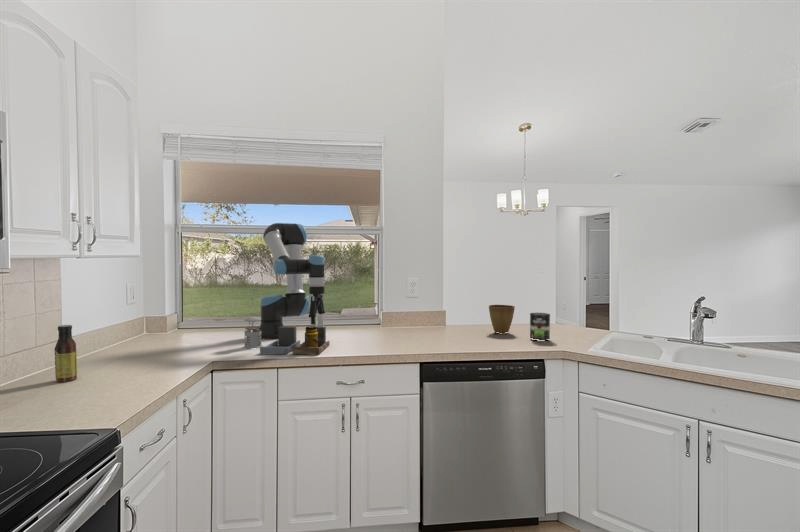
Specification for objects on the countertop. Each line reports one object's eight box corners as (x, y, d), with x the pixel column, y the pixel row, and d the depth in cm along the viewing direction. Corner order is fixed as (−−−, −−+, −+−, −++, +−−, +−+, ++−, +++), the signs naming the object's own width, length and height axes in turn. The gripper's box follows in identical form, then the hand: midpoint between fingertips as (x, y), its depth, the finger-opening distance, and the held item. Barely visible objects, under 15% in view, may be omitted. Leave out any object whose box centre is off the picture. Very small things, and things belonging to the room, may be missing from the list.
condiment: (321, 352, 201) (320, 327, 201) (303, 355, 197) (303, 328, 197) (314, 350, 207) (314, 325, 207) (297, 352, 203) (297, 326, 203)
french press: (243, 350, 207) (243, 298, 207) (240, 345, 217) (240, 296, 217) (265, 348, 212) (264, 297, 211) (260, 344, 222) (260, 295, 222)
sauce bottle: (63, 378, 158) (62, 324, 158) (81, 377, 159) (80, 323, 159) (50, 383, 152) (49, 326, 152) (69, 382, 152) (68, 326, 152)
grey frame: (277, 344, 219) (276, 326, 219) (300, 344, 218) (300, 326, 218) (260, 353, 197) (260, 333, 197) (286, 354, 196) (285, 334, 196)
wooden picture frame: (306, 344, 218) (306, 326, 218) (329, 344, 217) (329, 326, 217) (292, 354, 196) (292, 334, 196) (318, 354, 195) (318, 334, 195)
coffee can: (549, 342, 227) (549, 315, 226) (528, 340, 230) (529, 314, 230) (550, 338, 236) (550, 313, 236) (530, 337, 240) (530, 312, 240)
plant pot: (484, 333, 252) (484, 306, 252) (494, 330, 265) (494, 304, 264) (509, 336, 244) (509, 307, 244) (518, 332, 256) (518, 305, 256)
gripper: (317, 287, 203) (318, 332, 203) (329, 284, 228) (330, 325, 228) (302, 287, 203) (302, 332, 203) (315, 284, 228) (316, 325, 228)
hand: (317, 328), depth 216 cm, fingers open, 13 cm apart
